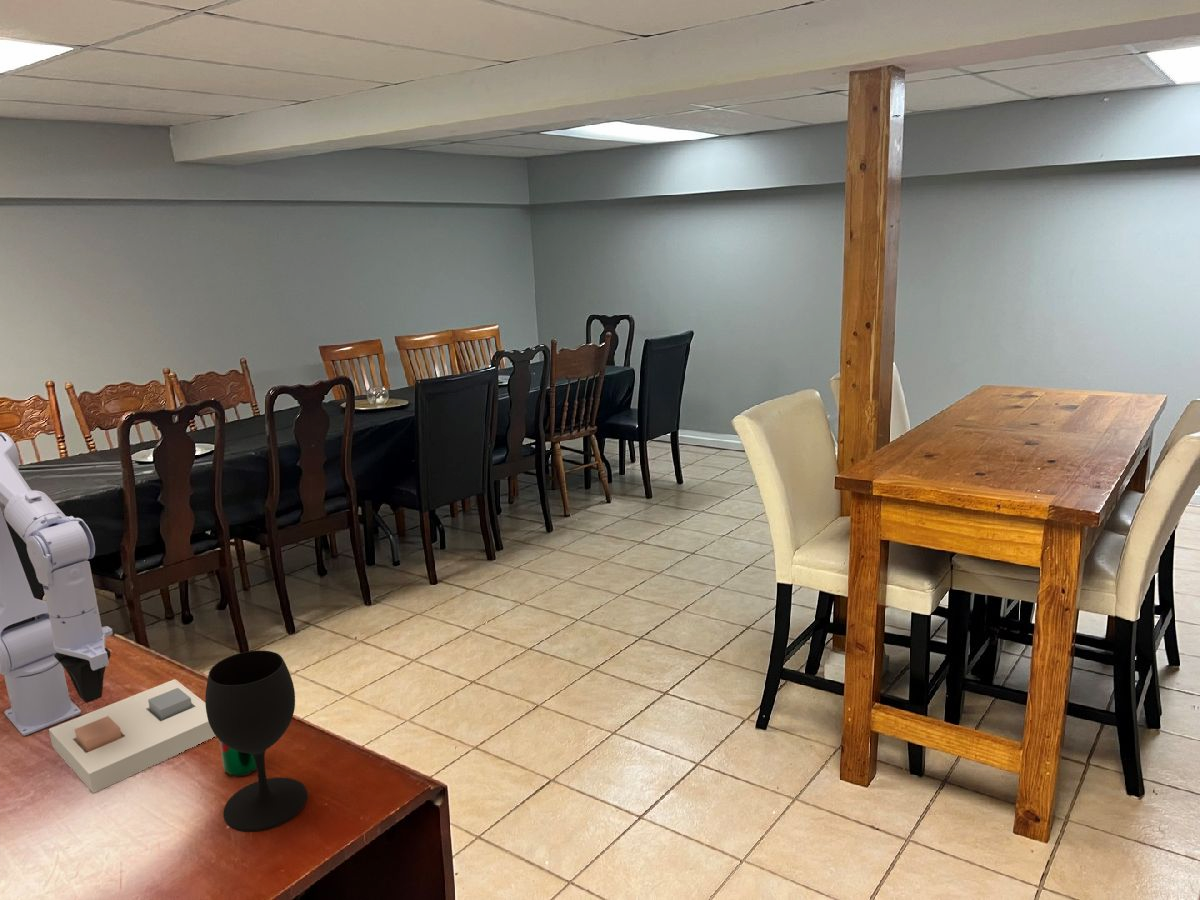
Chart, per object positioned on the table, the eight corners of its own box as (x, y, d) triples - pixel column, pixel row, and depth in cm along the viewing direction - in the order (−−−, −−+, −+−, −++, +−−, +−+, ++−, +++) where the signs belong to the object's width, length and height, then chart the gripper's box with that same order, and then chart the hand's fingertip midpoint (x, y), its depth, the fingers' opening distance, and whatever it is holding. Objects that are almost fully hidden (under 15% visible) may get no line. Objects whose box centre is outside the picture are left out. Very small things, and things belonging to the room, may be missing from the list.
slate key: (150, 711, 131) (148, 699, 130) (179, 699, 134) (177, 687, 133) (162, 722, 128) (160, 710, 127) (192, 709, 131) (190, 697, 131)
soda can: (249, 780, 119) (238, 701, 115) (216, 775, 120) (204, 698, 116) (270, 757, 123) (259, 682, 120) (238, 754, 124) (226, 678, 121)
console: (52, 747, 127) (48, 729, 126) (177, 695, 140) (174, 679, 139) (93, 793, 117) (89, 773, 116) (224, 733, 129) (221, 715, 129)
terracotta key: (77, 741, 124) (74, 729, 123) (110, 728, 127) (107, 715, 126) (88, 753, 121) (85, 741, 120) (122, 739, 124) (119, 727, 123)
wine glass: (222, 792, 116) (201, 657, 111) (304, 771, 120) (287, 640, 115) (223, 841, 107) (200, 697, 102) (311, 817, 111) (293, 677, 106)
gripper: (125, 613, 117) (141, 703, 120) (85, 585, 126) (102, 669, 130) (67, 633, 111) (86, 726, 115) (30, 601, 121) (49, 688, 125)
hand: (91, 697), depth 122 cm, fingers closed
